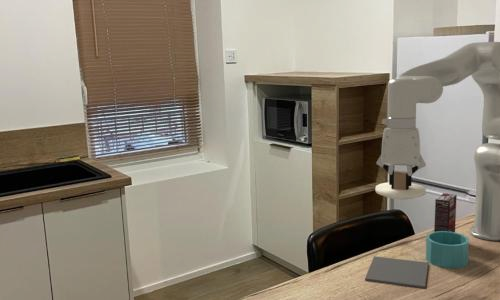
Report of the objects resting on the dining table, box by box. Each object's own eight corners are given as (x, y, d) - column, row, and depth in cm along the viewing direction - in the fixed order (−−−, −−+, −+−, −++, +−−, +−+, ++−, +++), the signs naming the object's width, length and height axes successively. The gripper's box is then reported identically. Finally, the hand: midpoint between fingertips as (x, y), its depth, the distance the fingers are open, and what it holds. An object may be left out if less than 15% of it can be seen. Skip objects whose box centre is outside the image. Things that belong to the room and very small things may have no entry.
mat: (374, 258, 152) (374, 256, 152) (428, 264, 146) (428, 262, 146) (365, 280, 138) (365, 278, 138) (424, 288, 132) (424, 286, 132)
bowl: (427, 250, 156) (427, 229, 155) (467, 254, 152) (468, 233, 150) (424, 265, 146) (425, 243, 144) (468, 270, 141) (469, 247, 140)
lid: (379, 187, 146) (379, 166, 145) (427, 190, 141) (427, 168, 140) (371, 199, 134) (371, 176, 133) (423, 203, 129) (424, 179, 128)
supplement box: (448, 248, 157) (449, 201, 154) (433, 245, 160) (434, 199, 157) (455, 239, 164) (457, 194, 161) (440, 237, 166) (442, 192, 163)
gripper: (368, 125, 134) (368, 189, 137) (432, 126, 127) (430, 193, 131) (373, 121, 140) (372, 182, 144) (433, 122, 134) (431, 186, 138)
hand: (400, 187), depth 137 cm, fingers closed on lid, 3 cm apart
